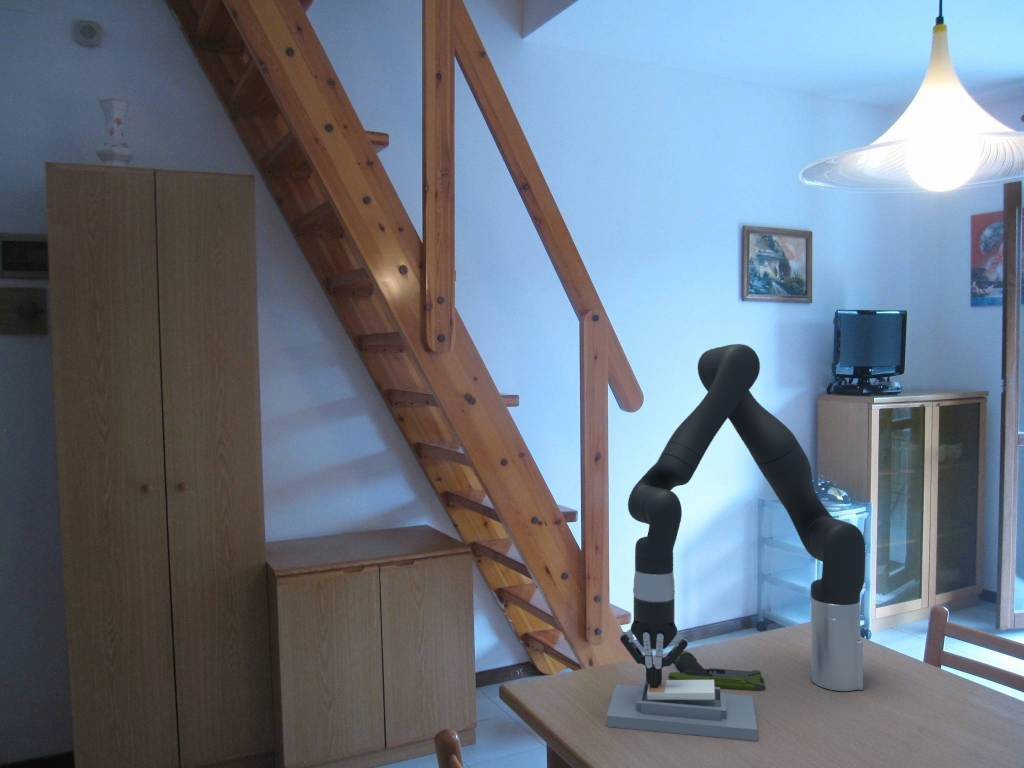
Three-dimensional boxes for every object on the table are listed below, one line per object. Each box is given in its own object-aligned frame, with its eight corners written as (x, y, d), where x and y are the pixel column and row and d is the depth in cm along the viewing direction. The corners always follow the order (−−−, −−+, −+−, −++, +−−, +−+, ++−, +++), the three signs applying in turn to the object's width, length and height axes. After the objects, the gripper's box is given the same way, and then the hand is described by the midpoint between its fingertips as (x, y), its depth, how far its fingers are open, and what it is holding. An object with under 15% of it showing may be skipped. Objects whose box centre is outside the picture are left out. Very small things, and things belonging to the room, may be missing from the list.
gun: (757, 666, 168) (766, 697, 154) (668, 660, 172) (668, 689, 157) (757, 655, 168) (766, 684, 153) (668, 649, 172) (668, 677, 157)
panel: (752, 706, 147) (752, 685, 147) (757, 741, 134) (757, 718, 134) (615, 694, 154) (615, 674, 153) (606, 726, 140) (606, 704, 140)
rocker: (714, 686, 145) (713, 678, 145) (715, 699, 139) (714, 691, 139) (650, 686, 148) (649, 679, 148) (647, 699, 142) (647, 692, 142)
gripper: (690, 590, 146) (690, 681, 147) (620, 586, 150) (620, 675, 150) (690, 602, 139) (689, 698, 139) (616, 597, 142) (616, 690, 143)
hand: (653, 686), depth 145 cm, fingers closed
